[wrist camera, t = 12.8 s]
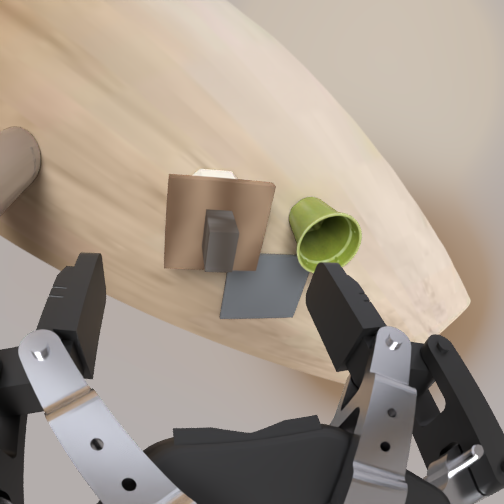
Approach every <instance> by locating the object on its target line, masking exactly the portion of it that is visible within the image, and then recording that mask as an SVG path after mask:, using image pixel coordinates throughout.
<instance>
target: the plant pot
mask: <svg viewBox="0 0 504 504" xmlns="http://www.w3.org/2000/svg"><path fill="white" fill-rule="evenodd" d="M289 222H290V225H291V228H292V231H293V233H294V236H295V239H296V242H297V249H296V253H297V258H298V261H299V263H300V265H301V266H302V267H303V268H304V269H305V270H307V271H309V272H311V273H314V271H315V268H316V266H317V264H318V263H320V262H331V263H339V264H340V266H341V267H343V266H345V265H346V264H347V263H348V262H349V261H351V259H352V258H353V257H354V256H355V254H356V253H357V251H358V249H359V246H360V244H361V239H362V233H361V228H360V225H359V224H358V222H357V221H356V220H355V219H354V218H353V217H352V216H350V215H348V214H345V213H340V212H337V211H336V210H334V209H333V208H331V207H330V206H329V205H327V204H326V203H324V202H323V201H321V200H320V199H318V198H315V197H307V198H304V199H302V200H300V201H299V202H298V203H297V204H296V205H294V206H293V207H292V209H291V211H290V215H289Z"/></svg>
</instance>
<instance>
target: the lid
mask: <svg viewBox="0 0 504 504" xmlns="http://www.w3.org/2000/svg"><path fill="white" fill-rule="evenodd" d="M275 188H276V186H275V185H274V183H270V182H261V181H251V180H241V179H231V178H219V177H206V176H193V175H177V174H169V180H168V194H167V209H166V227H165V252H164V268H172V269H202V270H205V272H232V270H237V271H256V269H257V264H258V260H259V256H260V252H261V248H262V243H263V239H264V235H265V231H266V226H267V222H268V218H269V214H270V209H271V205H272V201H273V196H274V192H275Z"/></svg>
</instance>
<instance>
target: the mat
mask: <svg viewBox="0 0 504 504" xmlns="http://www.w3.org/2000/svg"><path fill="white" fill-rule="evenodd" d="M308 274H309V271H307V270H305V269H304V268H303V267H302V266H301V265H300V263H299V261H298V258H297V255H283V254H260V256H259V260H258V264H257V269H256V271H237V270H232V272H227V276H226V282H225V288H224V294H223V300H222V306H221V312H220V319H246V318H286V317H293V315H294V312H295V310H296V307H297V305H298V302H299V299H300V296H301V294H302V291H303V288H304V286H305V283H306V280H307V277H308Z"/></svg>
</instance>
